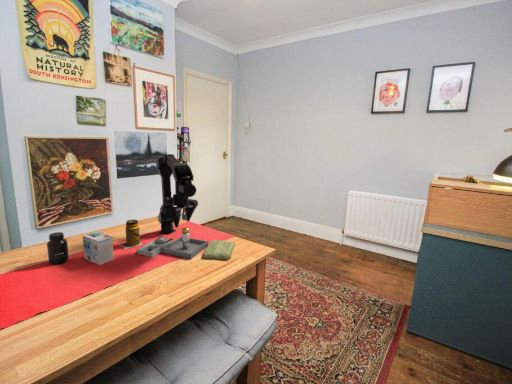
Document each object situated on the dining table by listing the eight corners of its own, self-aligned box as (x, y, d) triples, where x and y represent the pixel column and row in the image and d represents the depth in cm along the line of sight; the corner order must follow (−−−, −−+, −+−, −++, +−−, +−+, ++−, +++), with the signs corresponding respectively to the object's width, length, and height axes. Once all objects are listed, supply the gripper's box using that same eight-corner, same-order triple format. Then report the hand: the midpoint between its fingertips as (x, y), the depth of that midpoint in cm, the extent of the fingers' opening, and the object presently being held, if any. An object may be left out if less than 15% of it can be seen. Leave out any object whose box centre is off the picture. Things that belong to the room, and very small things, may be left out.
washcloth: (235, 245, 135) (235, 239, 135) (230, 261, 118) (230, 254, 117) (210, 243, 136) (210, 237, 135) (201, 259, 119) (201, 253, 118)
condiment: (143, 244, 131) (141, 221, 128) (124, 249, 125) (123, 225, 122) (137, 240, 136) (136, 217, 133) (119, 244, 130) (117, 220, 127)
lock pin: (185, 246, 129) (184, 226, 127) (191, 247, 128) (190, 227, 126) (180, 248, 126) (180, 228, 124) (187, 250, 125) (186, 230, 123)
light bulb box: (84, 258, 114) (81, 235, 112) (99, 253, 120) (97, 230, 118) (99, 265, 110) (97, 240, 107) (114, 258, 115) (112, 235, 113)
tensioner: (159, 240, 136) (159, 234, 135) (174, 243, 133) (174, 237, 132) (136, 253, 121) (136, 246, 120) (152, 257, 118) (152, 250, 117)
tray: (181, 240, 137) (181, 236, 136) (207, 246, 132) (207, 241, 131) (162, 252, 123) (162, 247, 122) (190, 259, 118) (190, 253, 117)
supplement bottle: (58, 266, 108) (55, 238, 105) (44, 263, 109) (40, 236, 106) (73, 258, 114) (70, 232, 112) (60, 256, 116) (56, 230, 113)
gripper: (178, 186, 133) (179, 216, 137) (153, 194, 116) (154, 228, 120) (198, 188, 130) (198, 219, 133) (175, 197, 113) (176, 232, 116)
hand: (182, 224), depth 126 cm, fingers open, 9 cm apart
